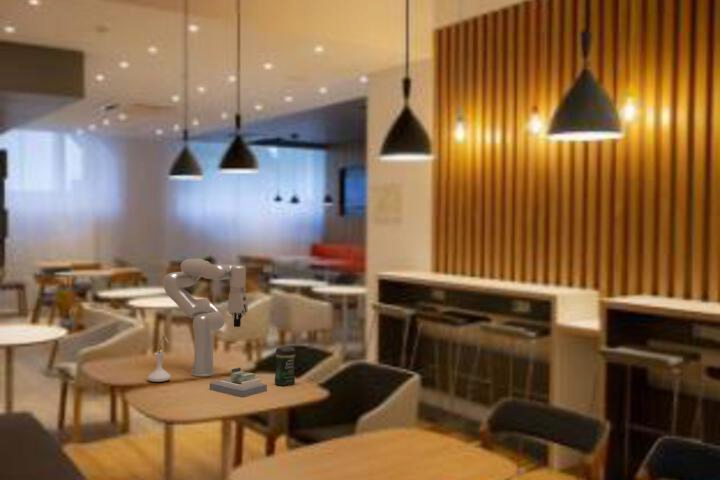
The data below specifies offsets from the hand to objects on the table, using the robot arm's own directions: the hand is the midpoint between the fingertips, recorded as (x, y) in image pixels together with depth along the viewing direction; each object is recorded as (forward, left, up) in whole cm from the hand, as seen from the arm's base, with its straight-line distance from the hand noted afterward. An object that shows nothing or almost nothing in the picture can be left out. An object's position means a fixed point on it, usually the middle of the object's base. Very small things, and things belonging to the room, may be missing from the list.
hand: (237, 326), depth 366 cm
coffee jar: (+24, +10, -27) cm, 38 cm away
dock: (+16, -14, -27) cm, 34 cm away
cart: (+19, -14, -24) cm, 34 cm away
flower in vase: (-27, -26, -27) cm, 46 cm away
